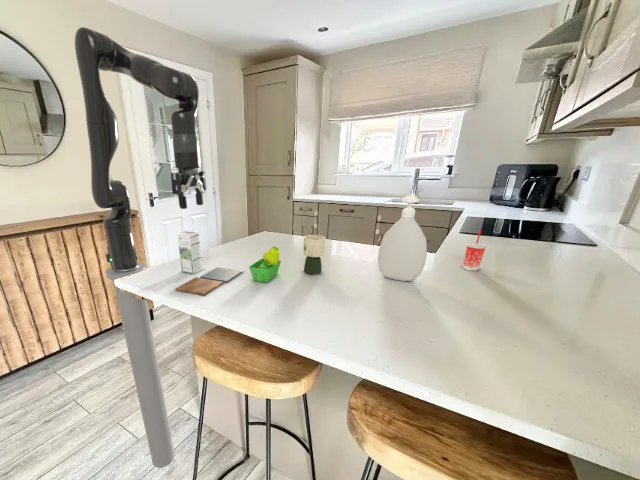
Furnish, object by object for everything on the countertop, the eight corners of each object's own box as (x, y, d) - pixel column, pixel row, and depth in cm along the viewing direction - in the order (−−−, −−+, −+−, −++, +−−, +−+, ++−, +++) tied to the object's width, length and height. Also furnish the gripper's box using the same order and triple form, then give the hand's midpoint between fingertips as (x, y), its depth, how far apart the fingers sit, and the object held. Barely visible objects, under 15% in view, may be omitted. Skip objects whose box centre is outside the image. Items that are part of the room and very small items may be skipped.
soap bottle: (424, 278, 103) (441, 194, 92) (419, 285, 97) (436, 197, 86) (379, 270, 111) (390, 192, 101) (372, 277, 105) (383, 195, 95)
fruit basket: (262, 271, 113) (262, 241, 109) (284, 274, 110) (285, 243, 105) (248, 281, 104) (247, 249, 99) (272, 285, 100) (272, 251, 96)
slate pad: (200, 278, 108) (200, 276, 107) (217, 268, 117) (217, 267, 117) (227, 282, 103) (227, 281, 103) (242, 272, 112) (242, 271, 112)
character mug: (306, 267, 116) (307, 233, 111) (325, 268, 114) (327, 234, 109) (299, 276, 107) (300, 240, 102) (319, 278, 105) (321, 241, 100)
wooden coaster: (175, 290, 98) (175, 288, 98) (196, 278, 107) (195, 277, 107) (204, 295, 94) (203, 293, 93) (223, 283, 103) (222, 281, 102)
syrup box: (203, 269, 116) (199, 231, 111) (193, 274, 112) (189, 234, 106) (191, 267, 119) (187, 230, 113) (181, 272, 114) (176, 233, 109)
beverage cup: (465, 264, 115) (475, 227, 109) (484, 268, 110) (494, 230, 105) (456, 267, 112) (466, 229, 107) (475, 272, 107) (485, 232, 102)
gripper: (190, 151, 99) (195, 203, 105) (160, 151, 87) (167, 209, 94) (210, 151, 96) (214, 204, 102) (181, 150, 84) (187, 210, 91)
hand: (192, 206), depth 98 cm, fingers open, 8 cm apart
